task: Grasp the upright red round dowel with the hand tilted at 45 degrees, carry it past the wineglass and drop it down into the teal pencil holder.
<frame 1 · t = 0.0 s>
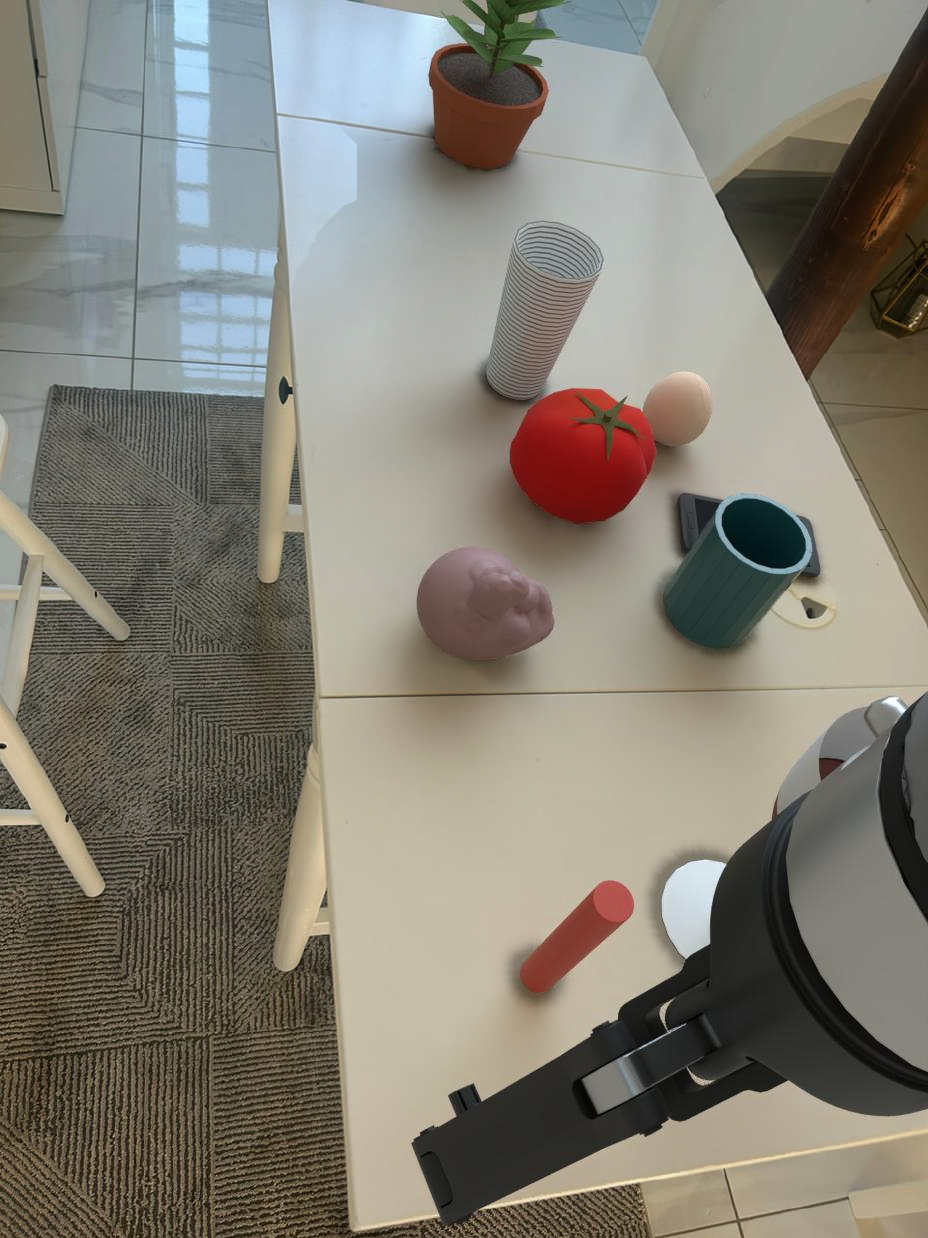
hand: (611, 1082, 40), 24 cm above the table, tool pointing down, fingers open, 13 cm apart
potted plant: (472, 148, 123), on the table
red round dowel: (537, 974, 66), on the table
wineglass: (716, 918, 71), on the table
cup: (513, 381, 100), on the table
cell phone: (745, 538, 94), on the table
tomato: (566, 493, 92), on the table
teal pencil holder: (707, 609, 88), on the table
figurine: (473, 637, 80), on the table
egg: (661, 438, 100), on the table
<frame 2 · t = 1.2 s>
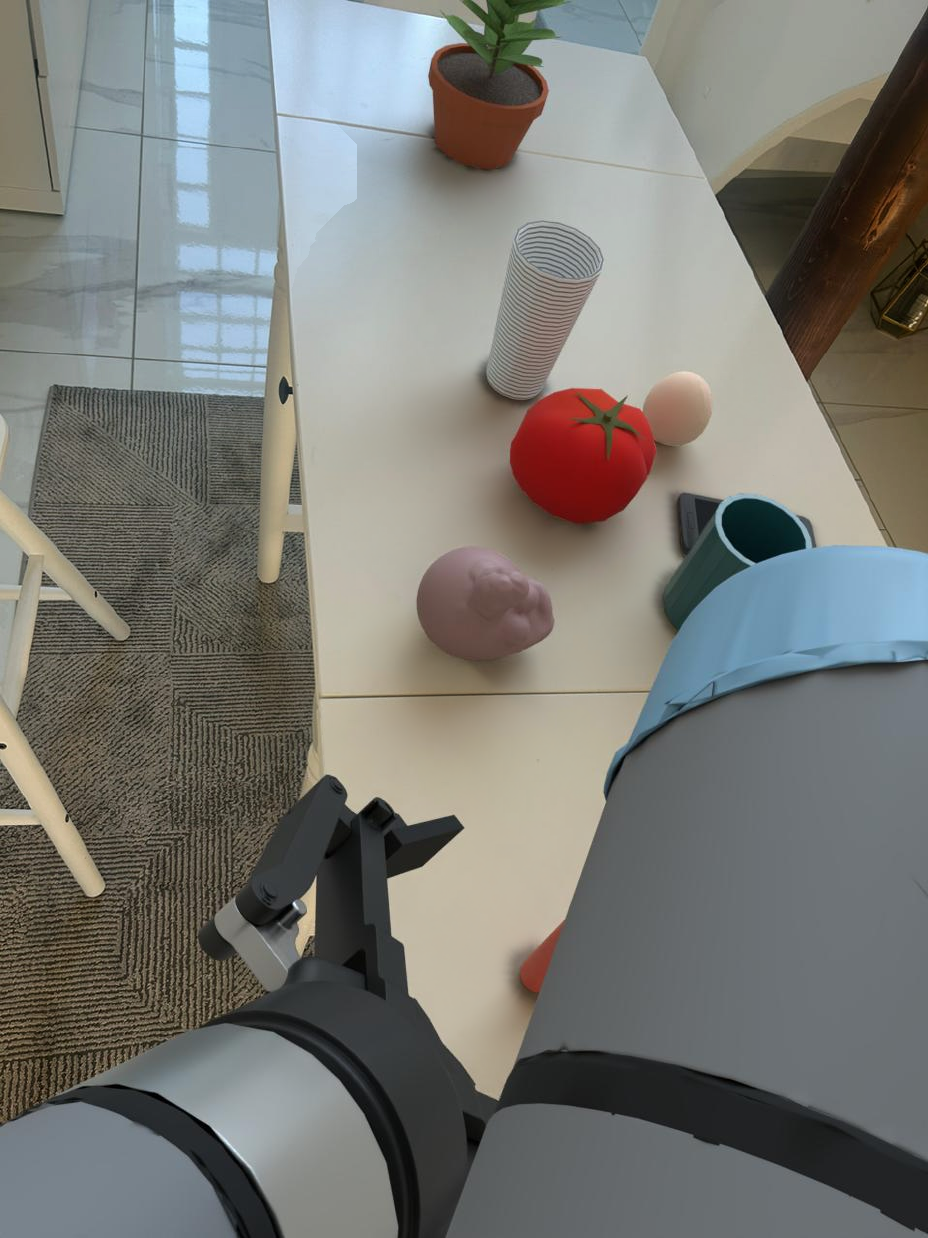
hand: (536, 968, 41), 24 cm above the table, tool tilted 45°, fingers open, 13 cm apart
nothing on the table moved.
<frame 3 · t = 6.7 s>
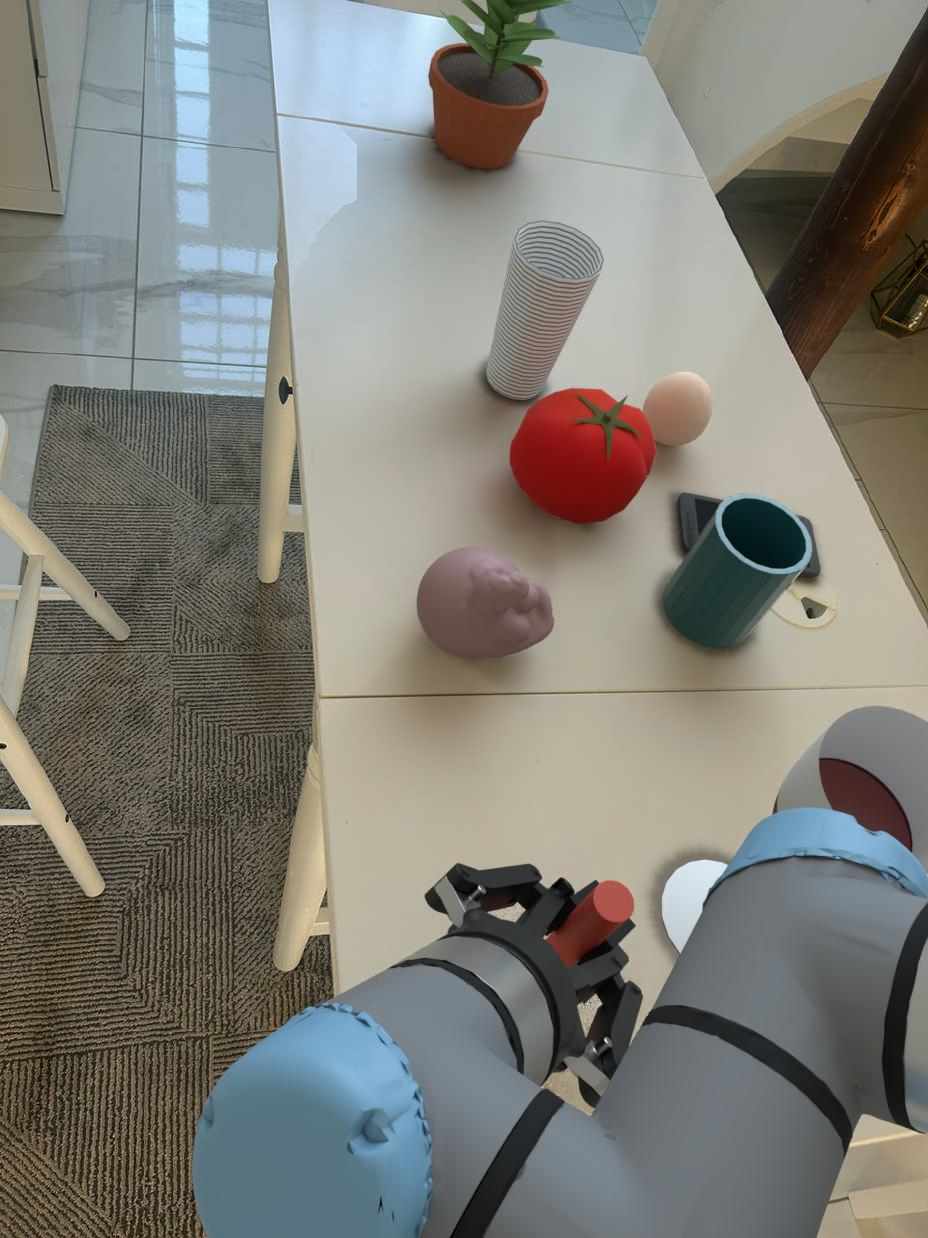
hand: (601, 916, 64), 5 cm above the table, tool tilted 45°, fingers closed on red round dowel, 2 cm apart
red round dowel: (537, 974, 66), on the table, touching gripper
everything else where it was.
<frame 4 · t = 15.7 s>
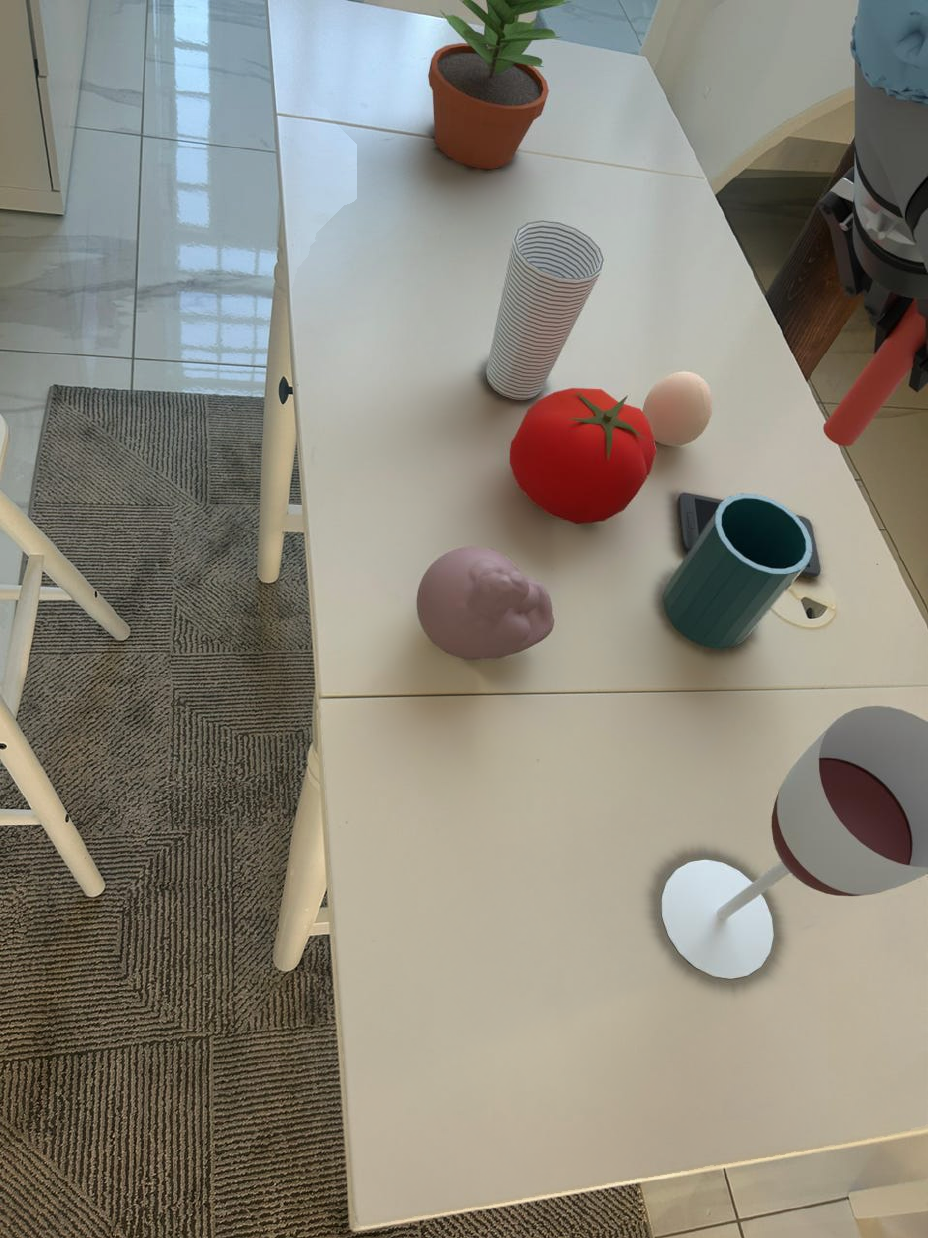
hand: (910, 359, 66), 29 cm above the table, tool tilted 45°, fingers closed on red round dowel, 2 cm apart
red round dowel: (839, 433, 68), point 24 cm above the table, touching gripper
everything else where it was.
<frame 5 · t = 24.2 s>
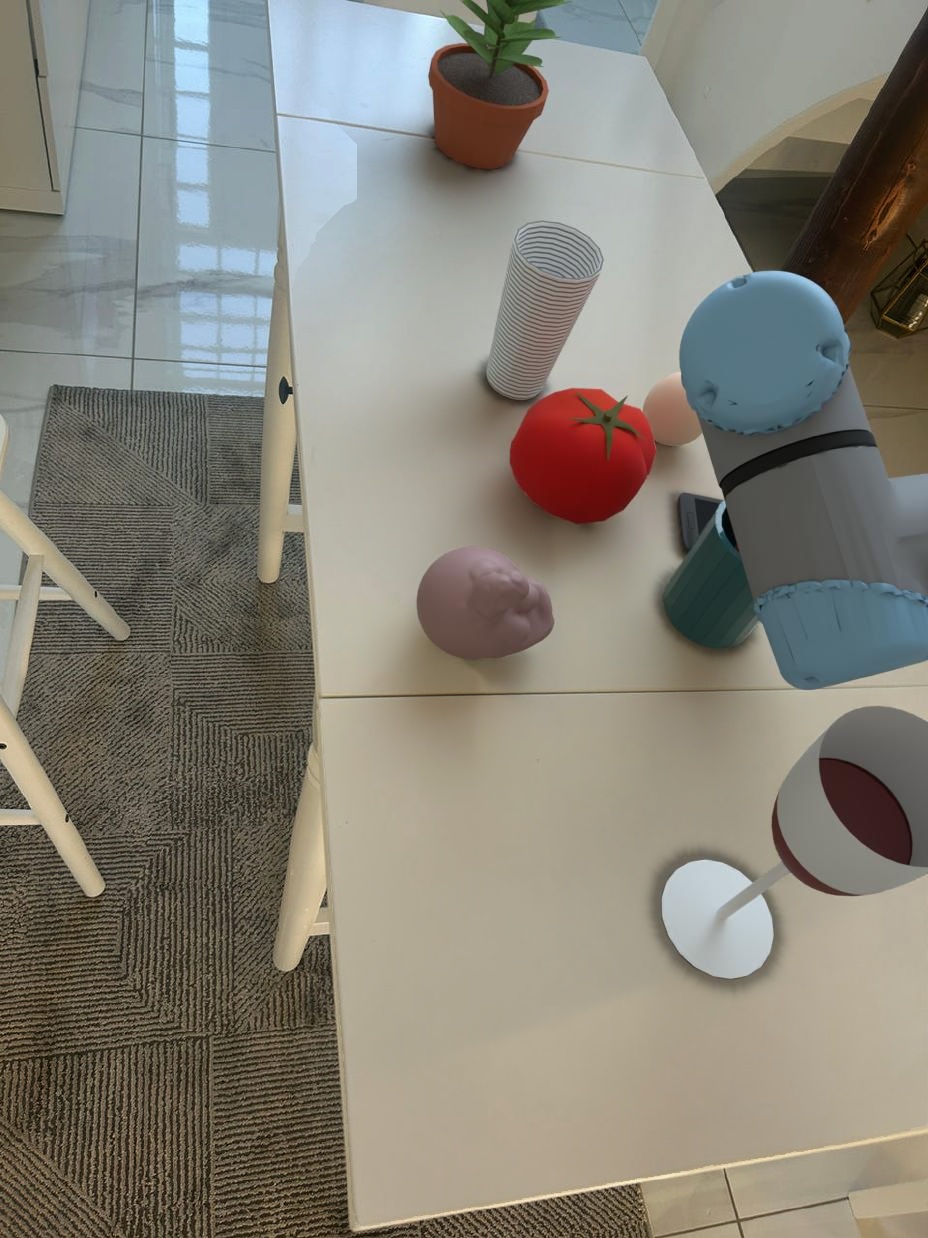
hand: (798, 503, 80), 12 cm above the table, tool tilted 45°, fingers closed on red round dowel, 2 cm apart
red round dowel: (742, 561, 82), point 7 cm above the table, touching gripper
everything else where it was.
when the fingers open (14 cm above the table, at t = 25.0 s): red round dowel drops 7 cm, resting on teal pencil holder.
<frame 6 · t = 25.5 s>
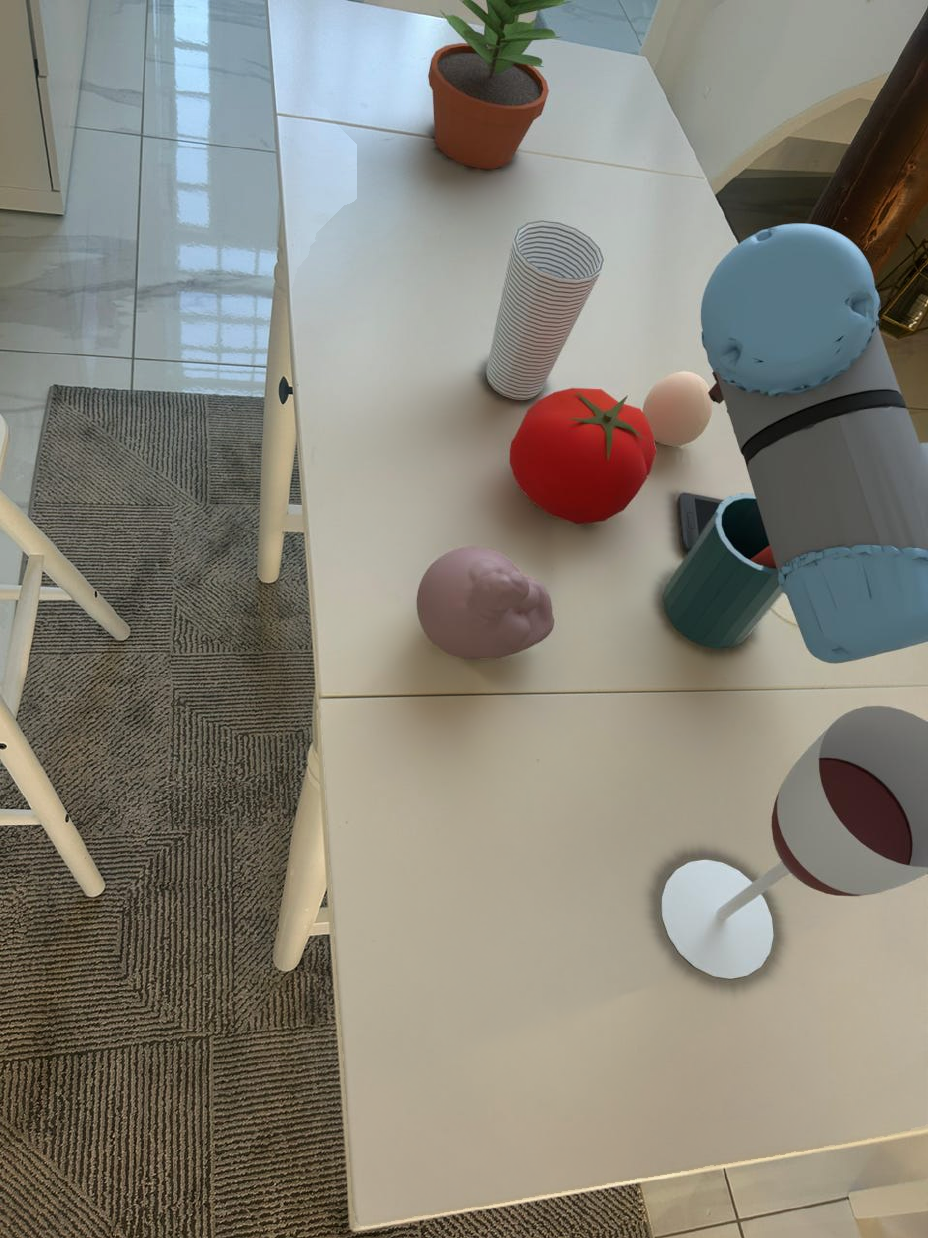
hand: (812, 481, 77), 16 cm above the table, tool tilted 45°, fingers open, 10 cm apart
red round dowel: (711, 604, 87), point 1 cm above the table, tilted 13°, touching teal pencil holder
everything else where it was.
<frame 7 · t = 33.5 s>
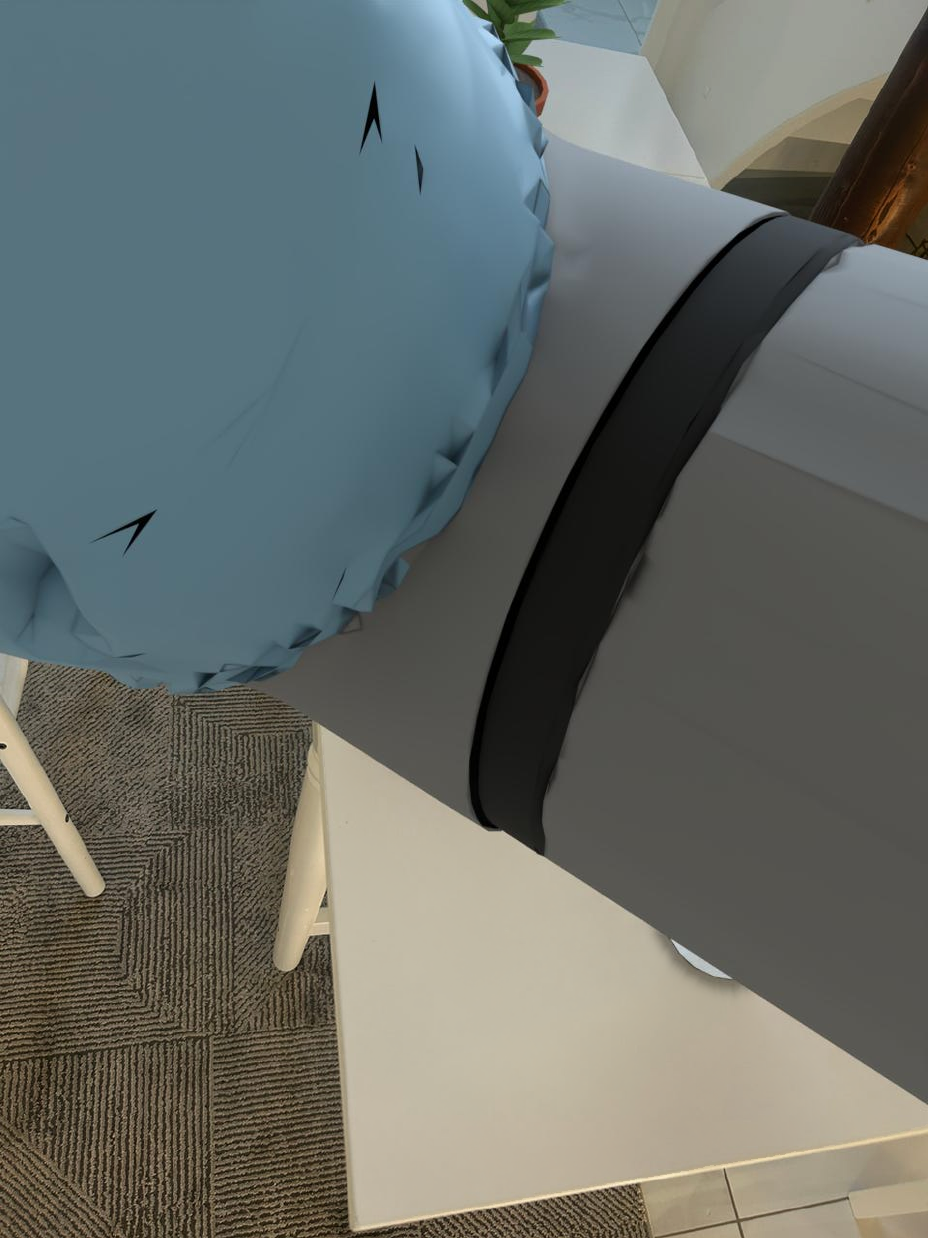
hand: (691, 613, 42), 34 cm above the table, tool tilted 45°, fingers open, 13 cm apart
nothing on the table moved.
at the end: red round dowel inside the target area in the teal pencil holder (0.1 cm from its centre), point 0.9 cm above the teal pencil holder's base; the gripper is holding nothing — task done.
